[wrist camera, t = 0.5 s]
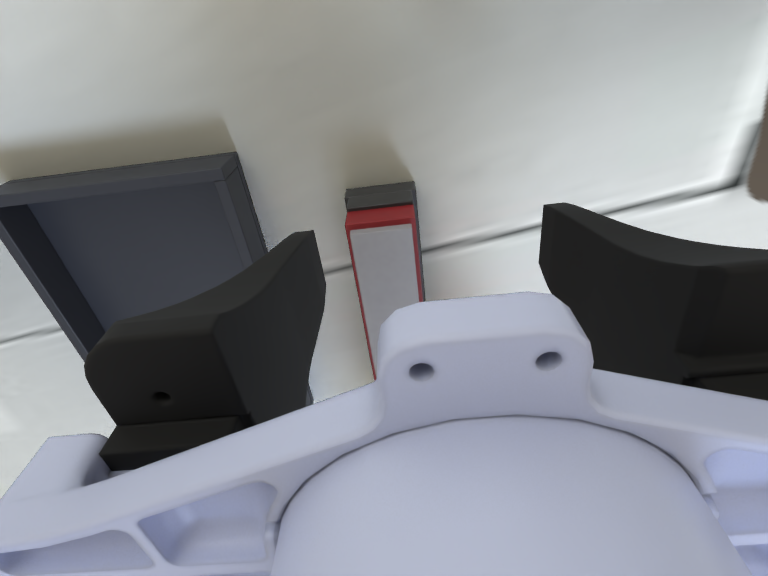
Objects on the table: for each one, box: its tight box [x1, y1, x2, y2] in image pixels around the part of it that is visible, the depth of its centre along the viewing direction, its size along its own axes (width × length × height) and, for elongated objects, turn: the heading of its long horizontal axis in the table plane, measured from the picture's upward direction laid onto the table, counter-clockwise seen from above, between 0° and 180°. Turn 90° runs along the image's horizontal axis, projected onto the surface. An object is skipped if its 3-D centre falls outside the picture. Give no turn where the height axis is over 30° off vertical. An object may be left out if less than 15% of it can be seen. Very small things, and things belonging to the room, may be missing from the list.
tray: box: [0, 152, 313, 407], centre depth 26 cm, size 18×12×2 cm
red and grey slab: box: [345, 181, 425, 381], centre depth 24 cm, size 13×4×4 cm, turn 7°
